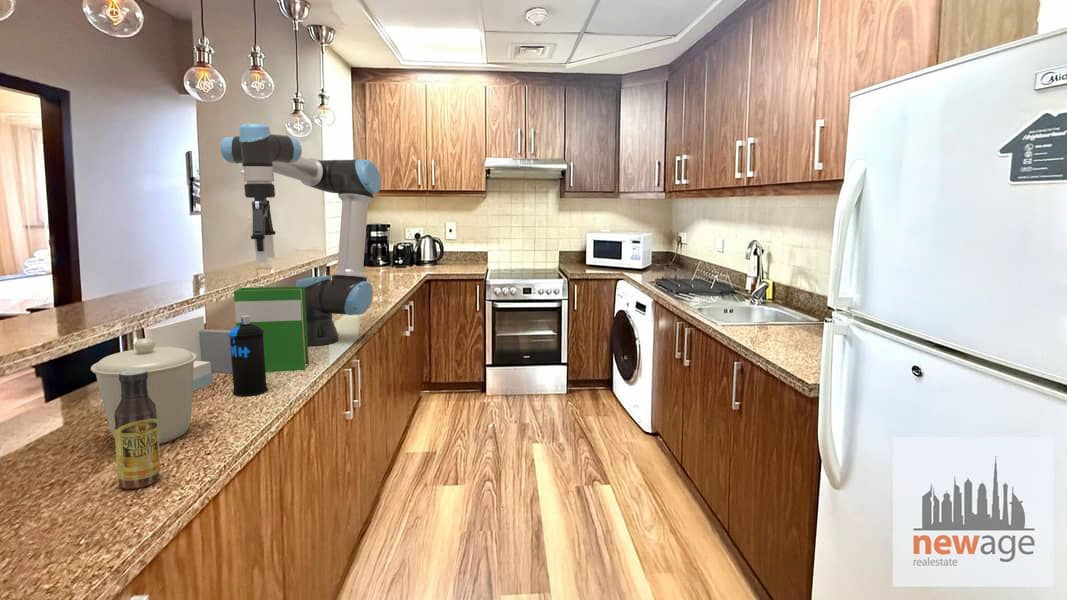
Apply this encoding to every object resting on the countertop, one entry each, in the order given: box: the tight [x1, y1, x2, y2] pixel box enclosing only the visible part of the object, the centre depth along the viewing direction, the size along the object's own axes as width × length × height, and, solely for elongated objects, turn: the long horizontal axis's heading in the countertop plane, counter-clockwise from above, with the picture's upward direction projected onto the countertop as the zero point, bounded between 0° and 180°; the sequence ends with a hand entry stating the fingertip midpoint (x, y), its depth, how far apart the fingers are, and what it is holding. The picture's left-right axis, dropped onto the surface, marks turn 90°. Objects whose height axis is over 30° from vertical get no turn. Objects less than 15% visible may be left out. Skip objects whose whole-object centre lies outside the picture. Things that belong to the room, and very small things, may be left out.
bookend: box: [199, 329, 233, 374], centre depth 172 cm, size 2×11×12 cm, turn 80°
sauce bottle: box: [114, 369, 161, 490], centre depth 102 cm, size 7×6×20 cm
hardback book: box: [233, 285, 310, 373], centre depth 174 cm, size 18×7×24 cm, turn 102°
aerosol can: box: [228, 316, 269, 398], centre depth 152 cm, size 8×8×20 cm
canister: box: [90, 337, 197, 445], centre depth 121 cm, size 18×18×21 cm
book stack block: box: [193, 361, 214, 392], centre depth 158 cm, size 8×11×6 cm
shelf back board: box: [146, 315, 205, 361], centre depth 164 cm, size 19×1×16 cm, turn 170°
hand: (266, 260), depth 165 cm, fingers open, 13 cm apart
